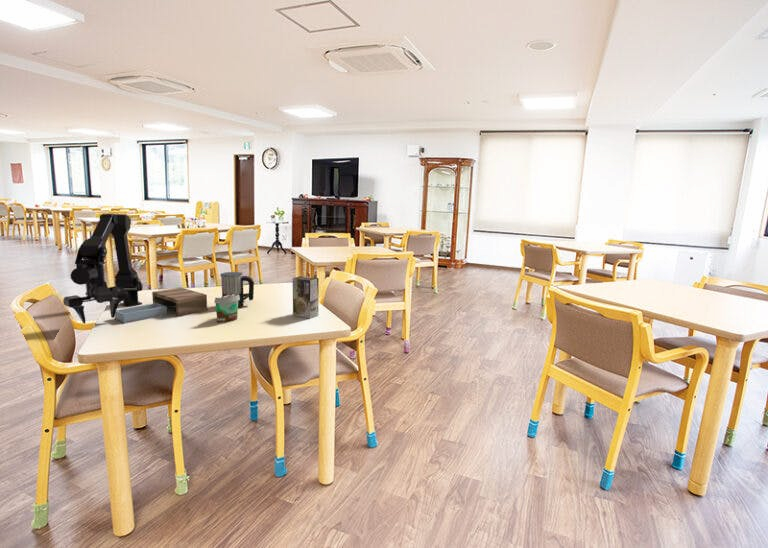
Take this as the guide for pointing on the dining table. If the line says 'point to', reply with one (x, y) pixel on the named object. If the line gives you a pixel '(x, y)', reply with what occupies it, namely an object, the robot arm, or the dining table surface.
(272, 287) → the dining table surface
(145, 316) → the blue-gray rectangular tray
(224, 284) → the milk frother
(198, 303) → the walnut overhang
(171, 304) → the seat rails
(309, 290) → the coffee box
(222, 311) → the food container
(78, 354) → the dining table surface
